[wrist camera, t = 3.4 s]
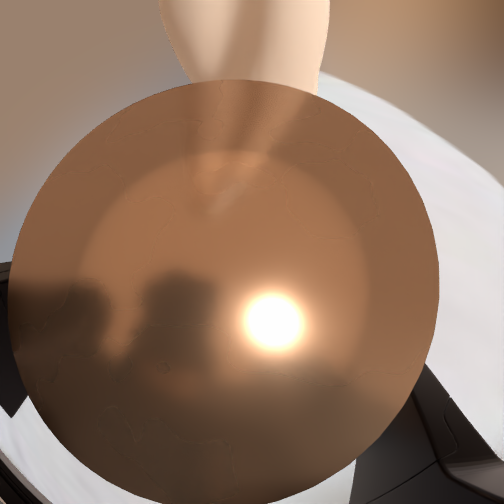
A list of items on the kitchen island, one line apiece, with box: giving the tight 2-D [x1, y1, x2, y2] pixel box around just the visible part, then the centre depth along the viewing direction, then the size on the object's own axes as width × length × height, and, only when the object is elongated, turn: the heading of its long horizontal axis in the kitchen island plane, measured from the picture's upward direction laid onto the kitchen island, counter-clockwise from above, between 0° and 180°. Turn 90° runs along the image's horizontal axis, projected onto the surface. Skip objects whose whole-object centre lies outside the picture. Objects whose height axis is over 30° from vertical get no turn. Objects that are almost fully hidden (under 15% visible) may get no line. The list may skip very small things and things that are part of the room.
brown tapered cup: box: [7, 79, 439, 504], centre depth 10 cm, size 8×8×13 cm
